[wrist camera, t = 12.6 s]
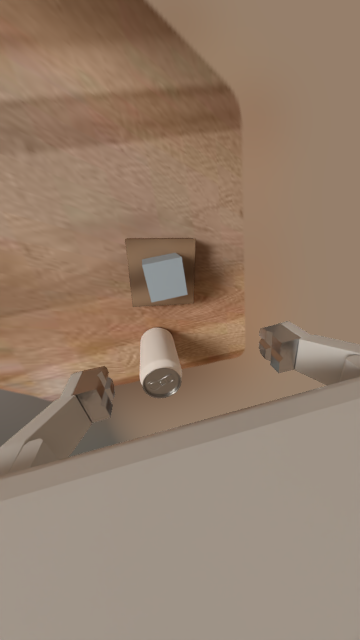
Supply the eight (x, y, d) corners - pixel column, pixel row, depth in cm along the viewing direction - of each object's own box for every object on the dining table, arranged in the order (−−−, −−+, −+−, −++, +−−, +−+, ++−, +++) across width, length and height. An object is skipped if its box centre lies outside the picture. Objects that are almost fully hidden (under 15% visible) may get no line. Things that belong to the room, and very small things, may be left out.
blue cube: (142, 259, 28) (141, 265, 23) (175, 252, 28) (181, 257, 24) (150, 291, 30) (151, 302, 26) (181, 285, 30) (187, 294, 26)
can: (134, 334, 37) (130, 378, 26) (165, 321, 37) (174, 358, 26) (149, 358, 40) (151, 406, 29) (177, 346, 40) (190, 389, 29)
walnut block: (127, 238, 30) (125, 239, 26) (189, 237, 31) (195, 238, 28) (133, 298, 34) (132, 306, 31) (188, 295, 36) (193, 303, 32)
